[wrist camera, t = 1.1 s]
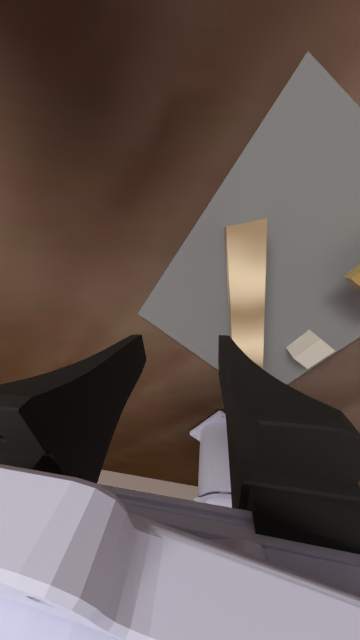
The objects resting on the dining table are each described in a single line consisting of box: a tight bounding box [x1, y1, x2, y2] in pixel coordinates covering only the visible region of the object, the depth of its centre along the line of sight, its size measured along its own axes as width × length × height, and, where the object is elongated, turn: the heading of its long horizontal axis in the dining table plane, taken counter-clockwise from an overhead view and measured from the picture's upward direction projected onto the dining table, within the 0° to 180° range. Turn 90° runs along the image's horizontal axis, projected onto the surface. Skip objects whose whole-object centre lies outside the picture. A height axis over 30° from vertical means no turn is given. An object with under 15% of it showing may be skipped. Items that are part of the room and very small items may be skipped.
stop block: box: [286, 330, 335, 369], centre depth 18 cm, size 2×3×2 cm, turn 144°
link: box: [224, 219, 267, 370], centre depth 17 cm, size 17×4×3 cm, turn 10°
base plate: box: [138, 51, 360, 385], centre depth 17 cm, size 20×23×1 cm
